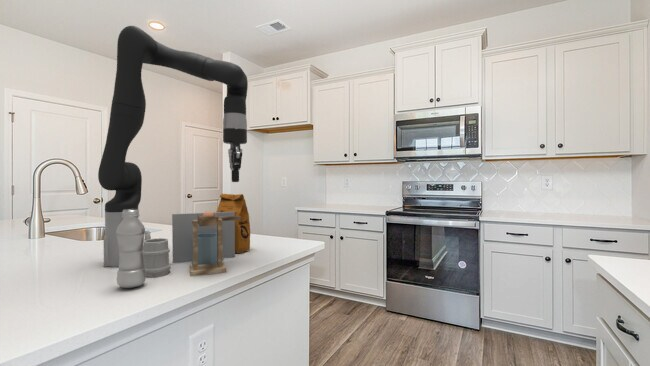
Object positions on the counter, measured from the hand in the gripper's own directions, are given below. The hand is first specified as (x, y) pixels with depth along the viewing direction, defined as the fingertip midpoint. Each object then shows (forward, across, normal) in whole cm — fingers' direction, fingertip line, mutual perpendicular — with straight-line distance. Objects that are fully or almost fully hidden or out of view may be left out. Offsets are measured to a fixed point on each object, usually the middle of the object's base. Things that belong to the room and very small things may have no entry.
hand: (235, 181), depth 105 cm
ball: (+10, +8, -9) cm, 16 cm away
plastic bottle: (+27, +12, -28) cm, 41 cm away
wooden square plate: (+12, +4, -5) cm, 14 cm away
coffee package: (+27, -19, +2) cm, 33 cm away
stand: (+27, +5, -9) cm, 29 cm away
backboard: (+27, -10, -9) cm, 30 cm away
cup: (+27, -4, -9) cm, 29 cm away
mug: (+27, 0, -24) cm, 36 cm away
